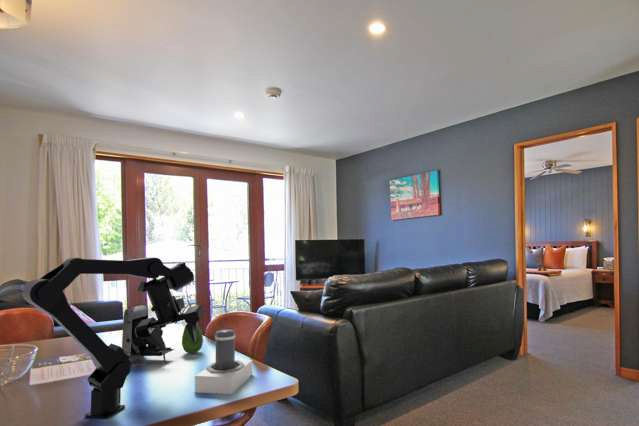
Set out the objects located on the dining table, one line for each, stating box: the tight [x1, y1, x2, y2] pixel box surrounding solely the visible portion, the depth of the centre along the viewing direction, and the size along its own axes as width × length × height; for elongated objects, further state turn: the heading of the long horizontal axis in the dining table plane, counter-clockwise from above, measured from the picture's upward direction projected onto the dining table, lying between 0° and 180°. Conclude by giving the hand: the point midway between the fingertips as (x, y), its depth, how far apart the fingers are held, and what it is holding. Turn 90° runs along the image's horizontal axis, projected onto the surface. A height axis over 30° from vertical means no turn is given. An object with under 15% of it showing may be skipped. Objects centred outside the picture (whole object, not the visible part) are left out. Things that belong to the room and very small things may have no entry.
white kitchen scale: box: [194, 358, 254, 395], centre depth 113 cm, size 16×11×5 cm
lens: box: [214, 329, 236, 370], centre depth 113 cm, size 6×6×14 cm
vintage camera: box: [121, 303, 175, 363], centre depth 137 cm, size 10×16×20 cm, turn 78°
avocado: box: [181, 323, 204, 355], centre depth 146 cm, size 8×8×12 cm
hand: (180, 346), depth 111 cm, fingers open, 9 cm apart
